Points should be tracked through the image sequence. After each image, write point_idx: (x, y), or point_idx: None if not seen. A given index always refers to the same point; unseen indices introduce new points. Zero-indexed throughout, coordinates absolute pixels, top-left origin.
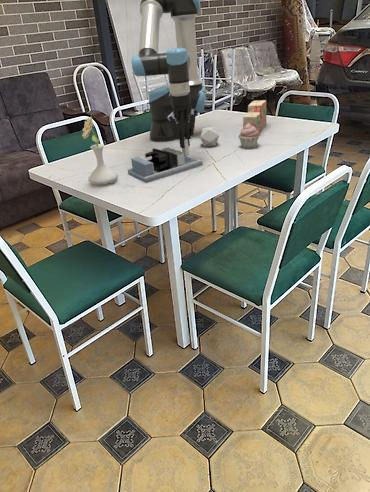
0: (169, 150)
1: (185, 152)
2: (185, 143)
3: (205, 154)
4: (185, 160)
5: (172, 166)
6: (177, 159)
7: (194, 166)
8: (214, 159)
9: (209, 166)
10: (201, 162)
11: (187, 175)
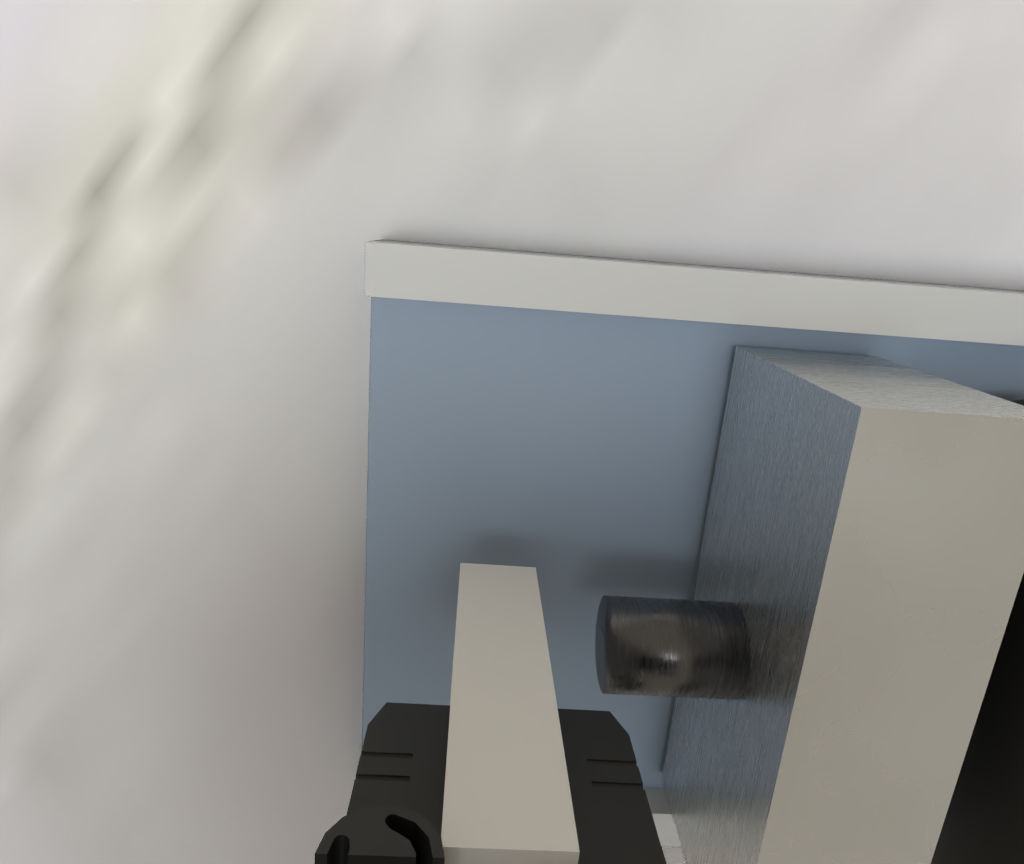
0: (881, 823)
1: (541, 619)
2: (549, 758)
3: (14, 629)
4: None
5: None
6: (977, 396)
7: (569, 255)
8: (39, 304)
9: (344, 68)
10: (401, 242)
11: (925, 30)
